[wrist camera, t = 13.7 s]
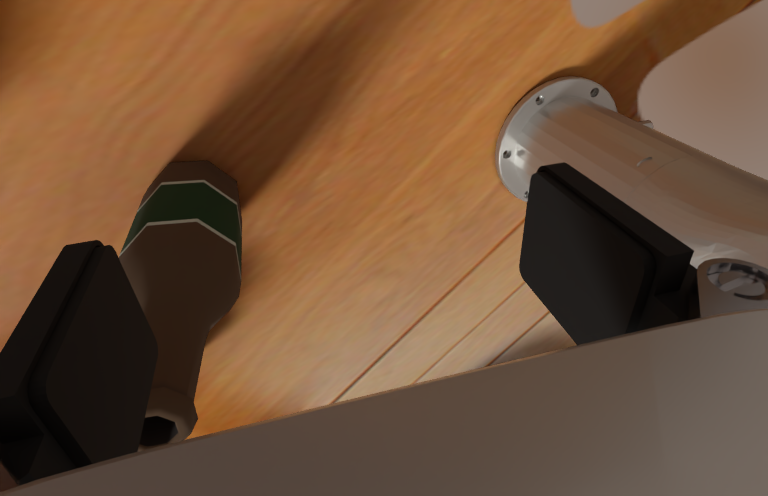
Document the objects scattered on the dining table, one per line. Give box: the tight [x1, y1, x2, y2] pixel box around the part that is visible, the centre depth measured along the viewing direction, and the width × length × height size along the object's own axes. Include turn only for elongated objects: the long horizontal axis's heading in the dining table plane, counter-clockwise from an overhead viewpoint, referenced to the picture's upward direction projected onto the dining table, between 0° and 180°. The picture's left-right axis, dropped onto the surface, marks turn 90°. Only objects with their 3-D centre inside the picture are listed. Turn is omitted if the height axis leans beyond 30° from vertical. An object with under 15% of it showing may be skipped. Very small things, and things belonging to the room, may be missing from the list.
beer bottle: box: [119, 161, 242, 452], centre depth 31 cm, size 8×8×24 cm
